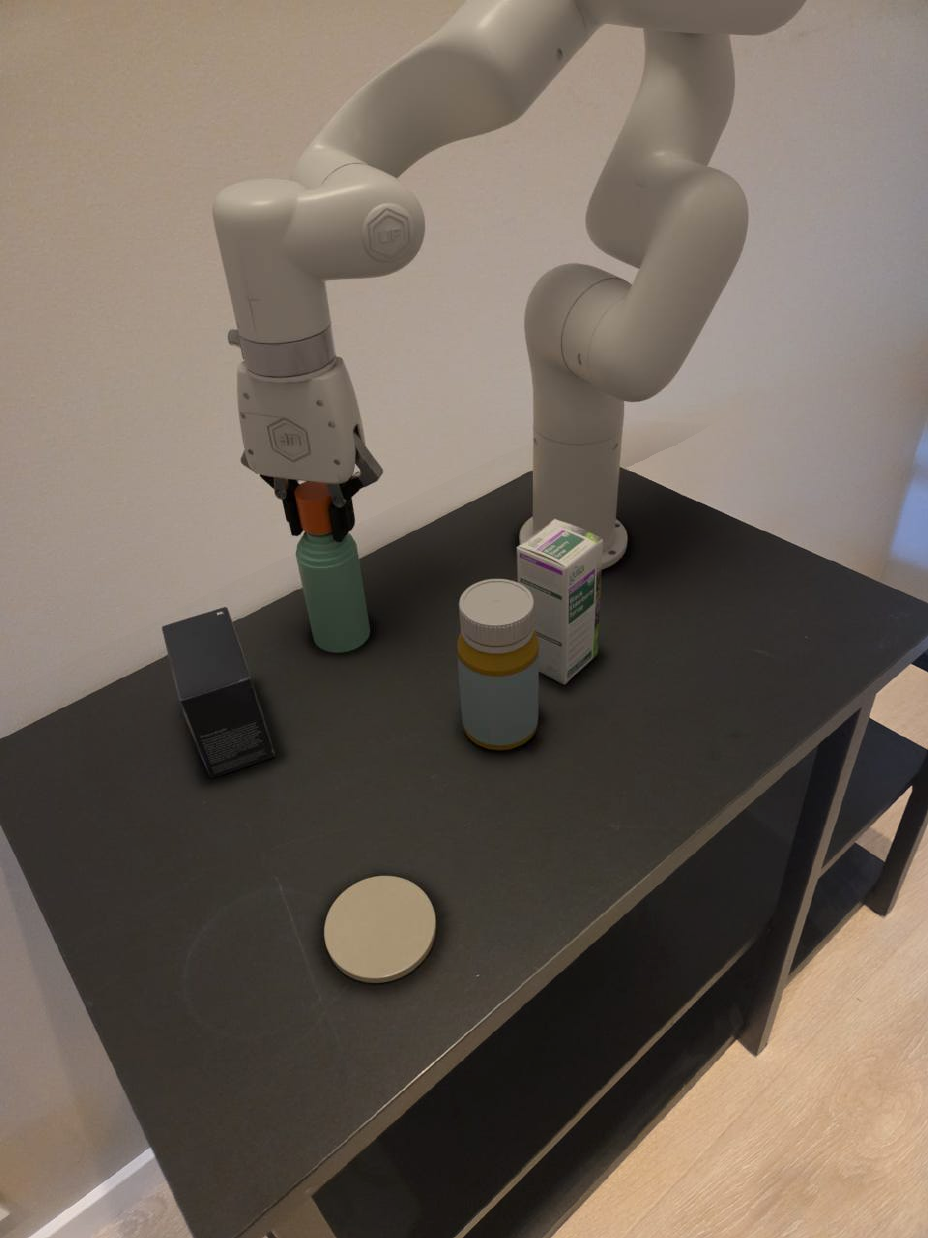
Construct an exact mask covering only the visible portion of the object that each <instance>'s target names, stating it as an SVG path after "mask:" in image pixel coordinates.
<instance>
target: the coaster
mask: <svg viewBox="0 0 928 1238" xmlns="http://www.w3.org/2000/svg"><path fill="white" fill-rule="evenodd" d="M436 934H437V920H436V912H435V908H434V906H433V904H432V901H431V899H430V898H429V896H428V895H427V894H426V893H425V891H424V890H423V889H422V888H421V887H419V886H418V885H417V884H415V883H414V882H412V881H409V880H408V879H405V878H404V877H403V878H402V877H398V876H394V875H393V876H392V875H377V876H373V877H368V878H365V879H362V880H360V881H357V882H356V883H353V884H352V885H351V886H349V887H347V888H346V889H345V890H343V891H342V893H341V894H340V895H338V896H337V898H336V899H335V901H334V902H333V903H332V905H331V907H330V908H329V910H328V912H327V915H326V917H325V921H324V927H323V939H324V942H325V947H326V950H327V953H328V956H329V958H330V960H331V962H333V964H334V965H335V967H336V968H337V969H338V970H339V971H340V972H342V973H343V974H344V975H346V976H348V977H349V978H351V979H353V980H356V981H360V982H363V983H369V984H381V983H388V982H392V981H395V980H398V979H401V978H403V977H405V976H406V975H408V974H410V973H411V972H413V971H414V970H415V969H417V968H418V967H419V966H420V965H421V963H423V961H424V960H425V959H426V958H427V957H428V955H429V953H430V951H431V949H432V947H433V946H434V942H435V939H436Z"/></svg>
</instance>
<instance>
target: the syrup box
mask: <svg viewBox="0 0 928 1238" xmlns="http://www.w3.org/2000/svg"><path fill="white" fill-rule="evenodd" d="M602 549H603V540H602V538H600V537H598V536H596V535H594V534H592V533H590V532H588V531H586V530H584V529H581V528H579V527H577V526H574V525H571V524H568V523H565V522H562V521H559V520H556V519H554V520H553V521H551V522H550V524H549V525H547V526H546V527H544V528H543V529H541V530H540V531H538V532H537V533H535V534H534V535H533V536H531V537H530V538H529V539H527V540H526V541H525V542H524V543H522V544H521V545H520V544H519V545H518V546H516V565H517V566H516V569H517V572H516V573H517V583H519V584H521V585H523V586H524V587H526V588H527V589H528V590H529V591H530V593H531V594H532V597H533V600H534V623H533V629H534V631H535V633H536V635H537V638H538V642H539V673H541V674H543V675H544V676H547V677H549V678H550V679H551V680H554V681H555V682H557V683H559V684H562V685H566V684H568V683H569V681H570V680H571V679H573V677H575V675H577V674H578V673H579V672H580V671H582V670H583V668H585V667H586V666H587V665H588V664H589V663H590V662H591V661H593V659H594V658H595V657H596V656H597V655H598V654H599V634H600V633H599V631H600V610H601V591H602V570H603V569H602Z"/></svg>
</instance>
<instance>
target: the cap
mask: <svg viewBox="0 0 928 1238" xmlns="http://www.w3.org/2000/svg"><path fill="white" fill-rule="evenodd" d="M299 484H300V485H298V486H297V487H296V489H295V491H294V494H295V499H296V504H297V508H298V513H299V518H300V523H301V528H302V529H303V532H307V533H309V534H314V535H321V534H327V533H330V532H332V528H331V523H330V517H329V511H328V508H329V506H330V504H331V503H332V499H331V496H330V493H329V490H328V487H327V485H326V483H318V482H309V481H302V483H299Z"/></svg>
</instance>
